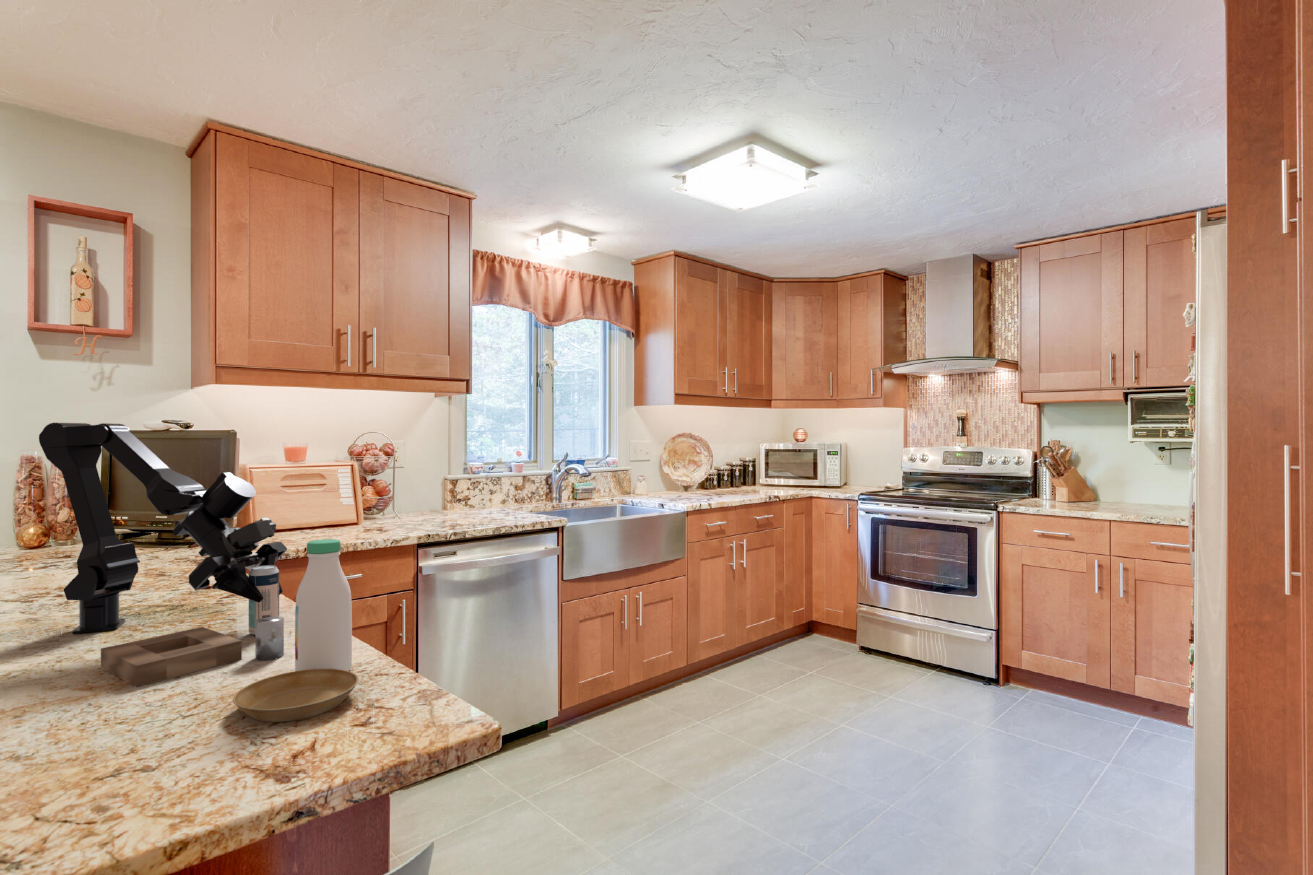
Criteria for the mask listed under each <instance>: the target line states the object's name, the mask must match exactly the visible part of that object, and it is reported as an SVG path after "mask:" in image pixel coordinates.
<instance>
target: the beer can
mask: <svg viewBox="0 0 1313 875" xmlns="http://www.w3.org/2000/svg"><path fill="white" fill-rule="evenodd" d="M248 576H249V578H250V580H251V581H252V582H253V584H254V585H255V586H256V587H257V589H258V590H259V591H260V593H261V594H262V596H263V600H262V601H261V602H255V601H253V600H250V599H248V633H249V635H252V636H254V635H255V621H256V620H259V619H262V618H267V617H280V595H279V583H280V570H279V569H278V567H277V565H275V564H274V565H266V566H258V567H253V568H251V571H250V570H249V573H248Z"/></svg>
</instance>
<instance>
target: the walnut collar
mask: <svg viewBox="0 0 1313 875" xmlns="http://www.w3.org/2000/svg"><path fill="white" fill-rule="evenodd" d="M242 645H243V642H242V640H241V639H238V638H235V637H232V636H229V635H227V634H224V633H221V632H219V631H215V630H212V629H209V628H206V627H205V626H200V627H196V628H191V629H186V630H182V631H177V632H176V631H175V632H172V633H168V634H163V635H159V636H153V637H149V638H144V639H139V640H135V641H130V642H125V643H120V644H117V645H116V644H115V645H112V646H105V647H101V648H100V668H101V669H102V670H104V671H106V672H108V673H109V674H111V675H113V676H115V677H118V678H120V679H121V680H122V681H125V682H126V683H129V684H131V685H132V686H134V687H140V686H144V685H148V684H152V683H155V682H159V681H163V680H168V679H171V678H175V676H176V677H179V676H183V675H187V674H191V673H195V672H198V671H202V670H206V669H210V668H214V667H218V666H220V665H225V664H229V663H233V662H236V661H240V660H243V656H242V655H243V654H242V653H243V652H242V651H243V650H242V647H243V646H242ZM213 666H214V667H213ZM194 671H195V672H194Z"/></svg>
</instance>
